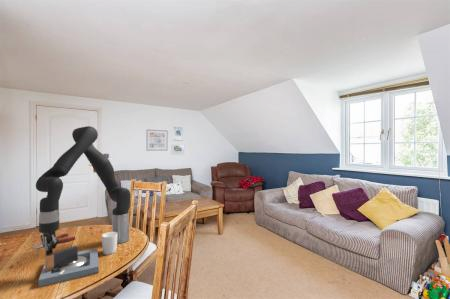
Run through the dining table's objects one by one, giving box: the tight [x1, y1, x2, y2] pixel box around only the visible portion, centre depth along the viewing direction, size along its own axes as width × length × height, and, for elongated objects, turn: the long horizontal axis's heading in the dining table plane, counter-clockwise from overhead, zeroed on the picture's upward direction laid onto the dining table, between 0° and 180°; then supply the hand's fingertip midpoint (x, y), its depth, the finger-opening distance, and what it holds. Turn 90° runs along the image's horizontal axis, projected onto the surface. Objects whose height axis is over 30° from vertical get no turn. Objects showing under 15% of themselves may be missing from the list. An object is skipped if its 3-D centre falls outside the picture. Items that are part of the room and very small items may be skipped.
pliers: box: [32, 233, 76, 250], centre depth 138 cm, size 12×20×3 cm, turn 150°
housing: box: [37, 248, 100, 288], centre depth 110 cm, size 22×22×3 cm
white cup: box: [101, 231, 118, 256], centre depth 127 cm, size 8×8×10 cm
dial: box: [44, 245, 86, 272], centre depth 108 cm, size 16×12×9 cm
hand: (49, 257), depth 105 cm, fingers closed
